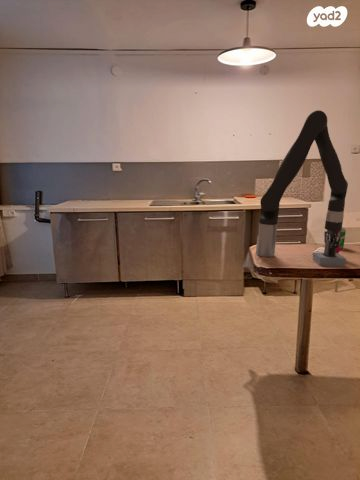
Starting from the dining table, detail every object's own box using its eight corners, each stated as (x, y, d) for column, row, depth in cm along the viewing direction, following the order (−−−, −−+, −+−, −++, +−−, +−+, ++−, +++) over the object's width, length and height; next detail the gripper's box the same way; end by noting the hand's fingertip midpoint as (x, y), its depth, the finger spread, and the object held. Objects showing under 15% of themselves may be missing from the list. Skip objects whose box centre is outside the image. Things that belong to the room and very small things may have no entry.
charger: (326, 260, 154) (329, 236, 151) (323, 257, 158) (326, 234, 155) (334, 260, 154) (338, 236, 151) (331, 258, 158) (334, 235, 155)
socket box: (319, 265, 152) (320, 257, 151) (312, 259, 161) (314, 251, 160) (344, 266, 151) (345, 257, 150) (336, 260, 160) (338, 252, 159)
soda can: (327, 245, 188) (329, 226, 185) (339, 246, 188) (342, 226, 185) (332, 249, 181) (335, 229, 178) (345, 249, 181) (348, 229, 178)
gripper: (320, 217, 158) (316, 249, 162) (332, 222, 144) (327, 258, 148) (336, 217, 157) (331, 250, 162) (348, 223, 144) (343, 258, 148)
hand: (329, 253), depth 155 cm, fingers closed on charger, 4 cm apart
